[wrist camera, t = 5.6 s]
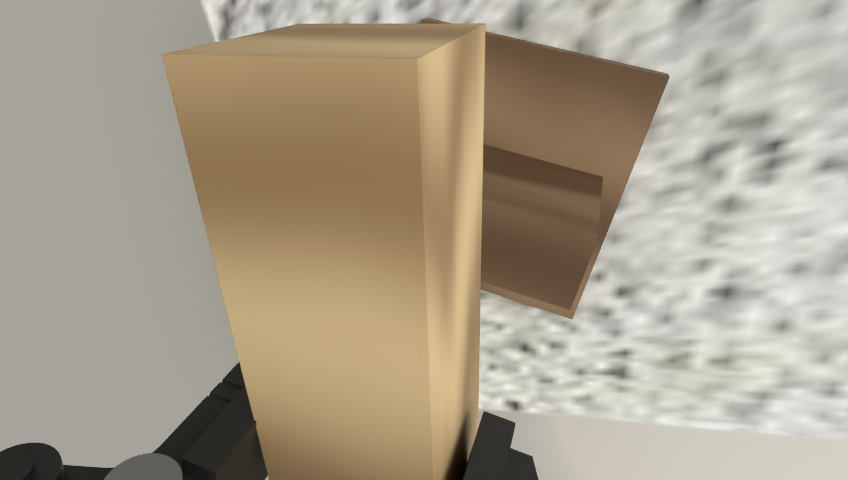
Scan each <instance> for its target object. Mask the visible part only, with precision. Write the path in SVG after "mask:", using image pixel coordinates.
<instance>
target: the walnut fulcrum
mask: <svg viewBox="0 0 848 480" xmlns="http://www.w3.org/2000/svg"><path fill="white" fill-rule="evenodd" d="M422 24H451V23H447V22H442V21H438V20H434V19H429V18H425V19H423V20H422ZM668 79H669V75H668V74H666V73H662V72H658V71H653V70H649V69H645V68H640V67H636V66H632V65H627V64H623V63H619V62H615V61H610V60H606V59H602V58H597V57H593V56H589V55H584V54H580V53H576V52H571V51H567V50H563V49H559V48H554V47H550V46H546V45H541V44H537V43H533V42H528V41H524V40H520V39H516V38H511V37H507V36H503V35H498V34H494V33H490V32H485V76H484V130H483V183H482V236H481V289H482V290H485V291H488V292H491V293H494V294H497V295H500V296H503V297H506V298H509V299H512V300H515V301H518V302H521V303H524V304H527V305H530V306H533V307H536V308H539V309H542V310H545V311H549V312H552V313H555V314H558V315H561V316H564V317H567V318H570V319H573V316H574V314H575V311H576V309H577V306H578V304H579V301H580V299H581V296H582V294H583V291H584V289H585V286H586V284H587V281H588V279H589V276H590V274H591V271H592V269H593V266H594V264H595V261H596V259H597V256H598V254H599V251H600V249H601V246H602V244H603V241H604V239H605V236H606V234H607V231H608V229H609V226H610V224H611V221H612V219H613V216H614V214H615V211H616V209H617V206H618V204H619V201H620V199H621V196H622V194H623V191H624V189H625V186H626V184H627V181H628V179H629V176H630V174H631V171H632V169H633V166H634V164H635V161H636V159H637V156H638V154H639V151H640V149H641V146H642V144H643V141H644V139H645V136H646V134H647V131H648V129H649V126H650V124H651V121H652V119H653V117H654V114H655V112H656V109H657V107H658V104H659V102H660V99H661V97H662V94H663V92H664V89H665V87H666V84H667V82H668Z"/></svg>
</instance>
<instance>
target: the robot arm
mask: <svg viewBox="0 0 848 480" xmlns="http://www.w3.org/2000/svg"><path fill="white" fill-rule="evenodd" d="M514 428H515V423H514V422H512V421H509V420H507V419H504V418H501V417H499V416H496V415H493V414H491V413H488V412H485V411H484V412H483V415H482V418H481V422H480V425H479V428H478V431H477V434H476V437H475V440H474V443H473V446H472V449H471V452H470V455H469V459H468V462H467V465H466V468H465V472H464V475H463V478H462V480H538V477H537V473H536V469H535V465H534V461H533V458H532V456H530V455H527V454H525V453H522V452H519V451H517V450H514V449H511V448H510V446H511V442H512V437H513V433H514ZM267 475H268V473H267V469H266V465H265V461H264V457H263V453H262V449H261V445H260V441H259V437H258V433H257V430H256V421H255V420H254V418H253V414H252V410H251V406H250V402H249V398H248V394H247V390H246V386H245V382H244V378H243V374H242V370H241V366H240V362H239V363H238V364H237V365H236V366H235V367H234V368H233V369H232V370H231V371H230V372H229V373H228V374H227V376H226V377H225V378H224V379H223V381H222V383H219V384H218V385H217V386H216V387H215V388H214V389H213V390H212V391H211V393H210V395H209V396H207V397H206V398H205V399H204V400H203V401H202V402H201V403H200V404H199V405H198V406H197V407H196V408H195V409H194V411H193V412H192V413H191V414H190V415H189V416H188V417H187V418H186V419H185V420H184V421H183V422H182V423H181V424H180V425H179V427H178V428H177V429H176V430H175V431H174V432H173V433H172V434H171V435H170V436H169V437H168V438H167V439H166V440H165V442H163V444H162V445H161V446H160V447H159V448H157V449H156V450H155V451H154V452H153V453H149V454H142V455H138V456H135V457H132V458H130V459H127V460H125V461H124V462H122V463H120V464H119V465H117V466H116V467H115V468H98V467H84V466H70V465H63V463H62V459H61V456H60V454H59V452H58V451H57V450H56V449H55V448H53V447H51V446H49V445H47V444H43V443H26V444H21V445H16V446H13V447H10V448H7V449H5V450H3V451H1V452H0V480H265V478H266V477H267Z"/></svg>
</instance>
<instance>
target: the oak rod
mask: <svg viewBox="0 0 848 480" xmlns="http://www.w3.org/2000/svg"><path fill="white" fill-rule="evenodd" d="M162 58H163V62H164V66H165V69H166V74H167V77H168V81H169V86H170V90H171V93H172V97H173V101H174V105H175V109H176V113H177V117H178V121H179V125H180V129H181V133H182V136H183V141H184V145H185V149H186V153H187V157H188V161H189V165H190V169H191V172H192V177H193V180H194V184H195V188H196V192H197V196H198V200H199V204H200V208H201V212H202V216H203V220H204V224H205V228H206V232H207V236H208V240H209V244H210V248H211V251H212V255H213V260H214V263H215V267H216V271H217V275H218V279H219V283H220V287H221V291H222V295H223V299H224V303H225V307H226V311H227V315H228V318H229V323H230V327H231V330H232V335H233V338H234V343H235V346H236V350H237V354H238V358H239V362H240V366H241V370H242V374H243V378H244V382H245V386H246V390H247V394H248V398H249V402H250V406H251V410H252V414H253V418H254V420H255V421H256V430H257V433H258V437H259V441H260V445H261V449H262V453H263V457H264V461H265V465H266V469H267V473H268V477H269V480H462V478H463V475H464V472H465V468H466V465H467V462H468V459H469V455H470V452H471V449H472V446H473V443H474V440H475V437H476V434H477V431H478V396H479V343H480V290H481V236H482V183H483V130H484V76H485V24H297V25H292V26H288V27H283V28H279V29H274V30H270V31H265V32H260V33H256V34H251V35H247V36H242V37H238V38H233V39H229V40H224V41H220V42H215V43H211V44H206V45H202V46H198V47H193V48H189V49H184V50H179V51H175V52H171V53H166V54H162Z"/></svg>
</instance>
